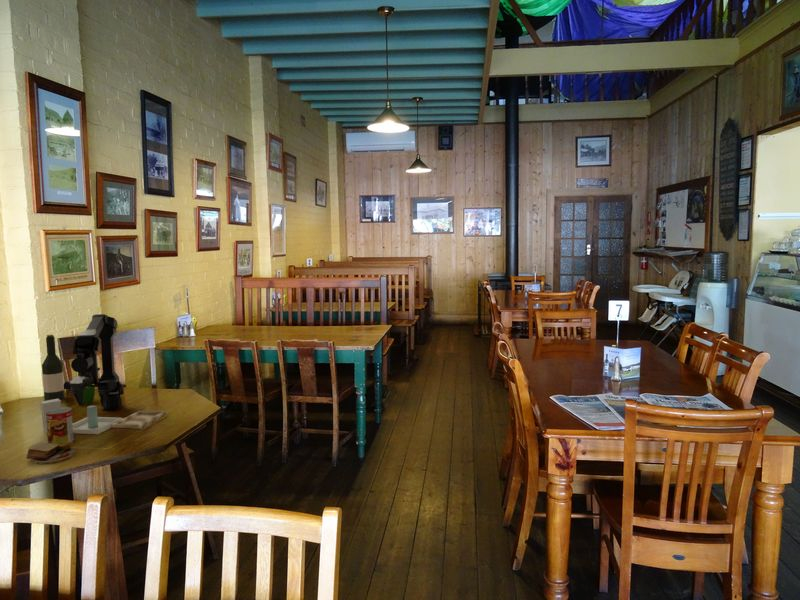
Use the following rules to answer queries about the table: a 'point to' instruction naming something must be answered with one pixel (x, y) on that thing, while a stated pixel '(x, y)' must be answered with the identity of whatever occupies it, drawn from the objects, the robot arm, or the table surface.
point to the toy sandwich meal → (49, 452)
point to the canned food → (59, 425)
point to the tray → (139, 419)
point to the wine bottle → (52, 373)
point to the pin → (92, 416)
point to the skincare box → (47, 406)
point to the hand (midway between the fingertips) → (91, 406)
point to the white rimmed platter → (103, 425)
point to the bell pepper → (88, 395)
